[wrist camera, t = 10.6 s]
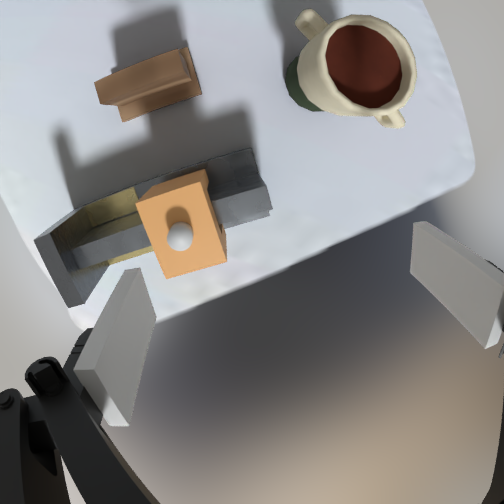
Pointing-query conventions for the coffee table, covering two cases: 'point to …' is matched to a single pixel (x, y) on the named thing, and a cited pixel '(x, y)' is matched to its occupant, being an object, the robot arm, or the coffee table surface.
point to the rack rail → (141, 223)
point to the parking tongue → (150, 84)
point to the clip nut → (183, 225)
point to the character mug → (353, 68)
